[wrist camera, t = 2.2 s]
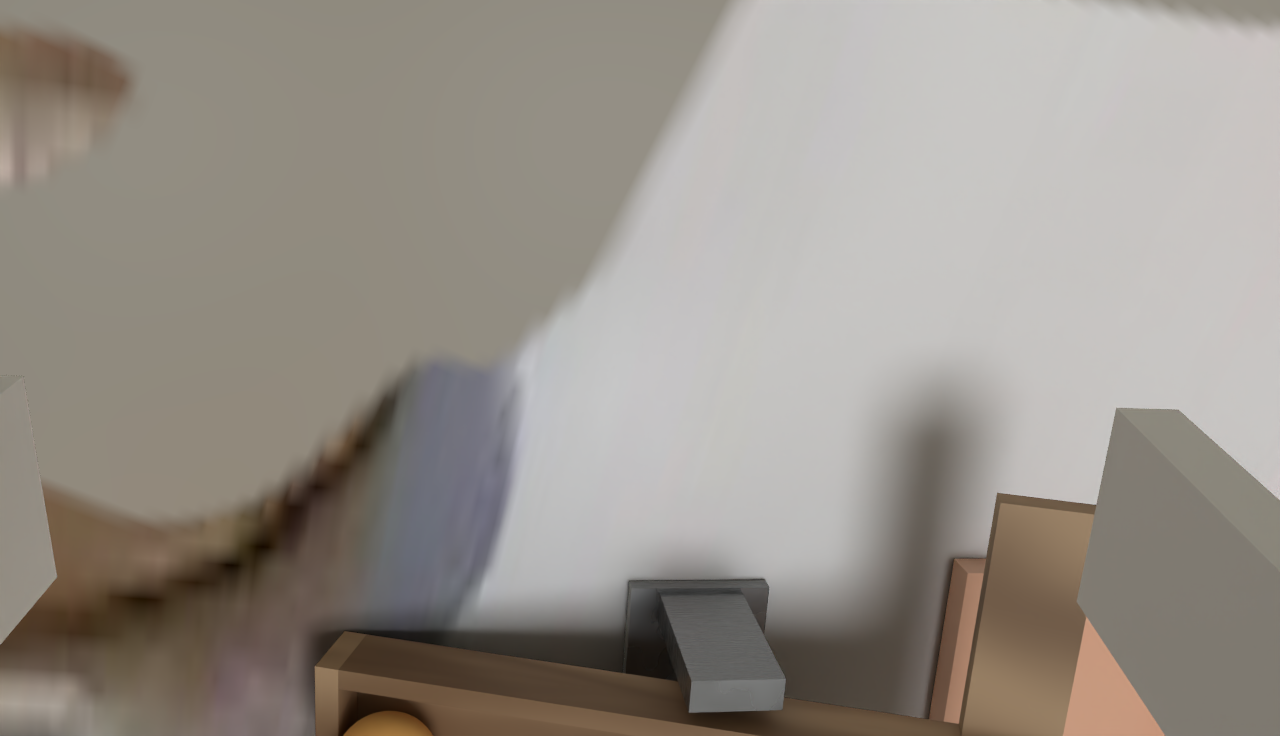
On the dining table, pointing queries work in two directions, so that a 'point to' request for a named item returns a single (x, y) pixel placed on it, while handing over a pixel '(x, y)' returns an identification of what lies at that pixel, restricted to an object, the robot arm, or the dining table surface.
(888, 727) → the lever
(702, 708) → the stand
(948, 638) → the dish
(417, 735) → the ball
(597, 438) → the dining table surface
